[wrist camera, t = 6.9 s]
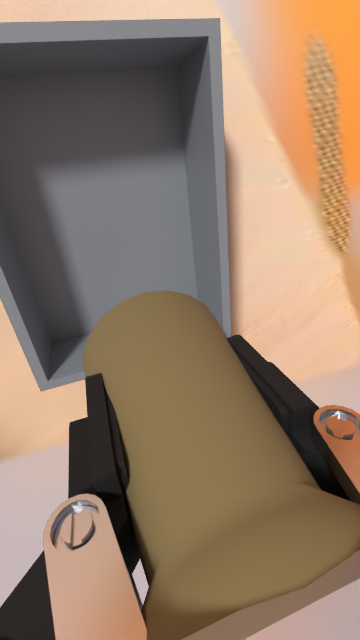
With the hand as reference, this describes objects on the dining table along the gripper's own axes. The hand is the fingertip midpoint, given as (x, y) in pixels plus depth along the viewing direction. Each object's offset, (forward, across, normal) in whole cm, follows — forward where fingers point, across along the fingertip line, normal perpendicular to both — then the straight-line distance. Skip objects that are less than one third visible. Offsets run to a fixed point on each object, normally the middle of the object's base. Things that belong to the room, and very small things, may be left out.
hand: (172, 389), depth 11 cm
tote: (+14, 0, -4) cm, 15 cm away
